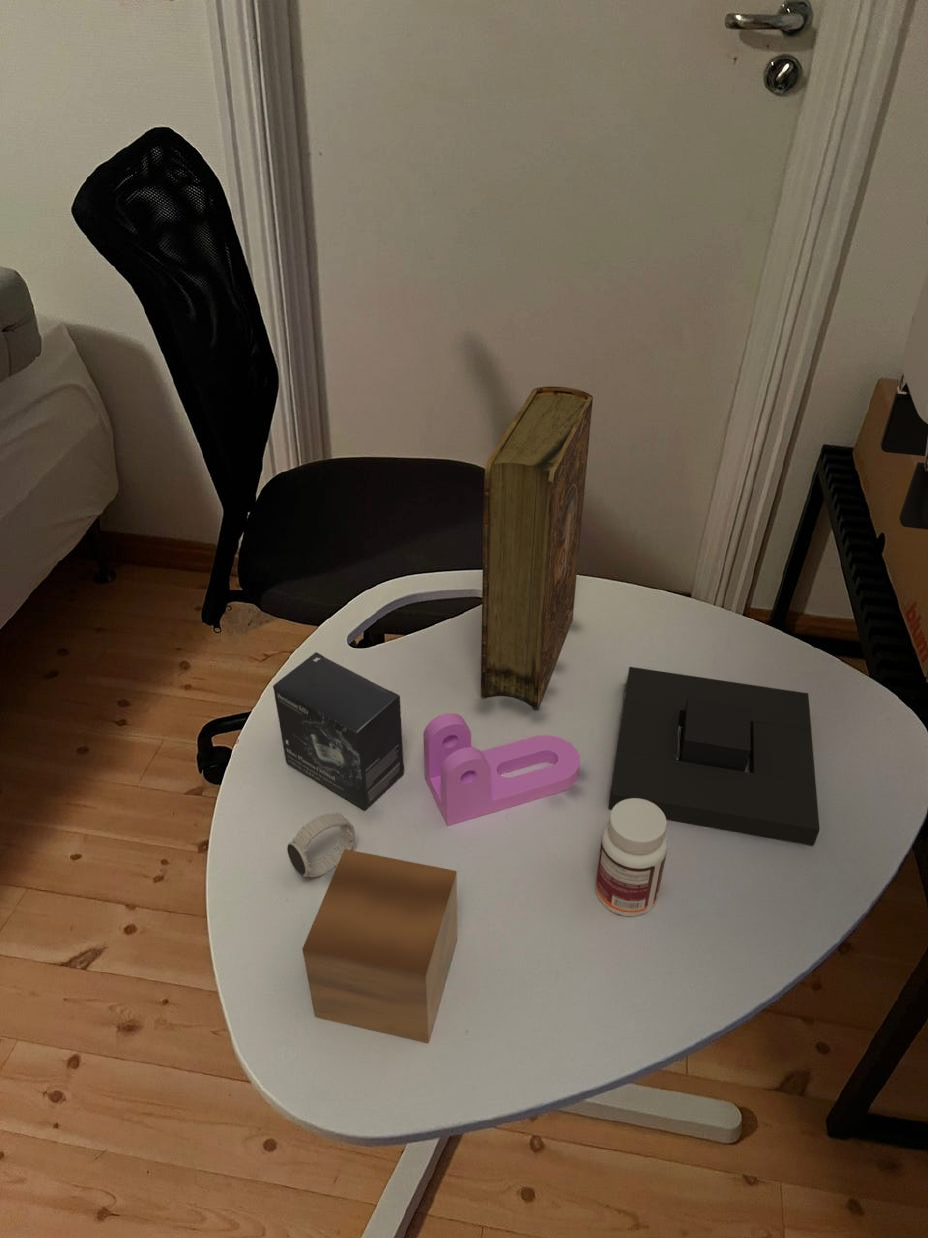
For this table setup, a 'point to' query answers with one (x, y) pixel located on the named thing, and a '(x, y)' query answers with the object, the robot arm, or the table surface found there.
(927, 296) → the robot arm
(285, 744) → the box
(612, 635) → the table surface
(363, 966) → the wooden block
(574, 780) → the bracket
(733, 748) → the pad
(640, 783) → the base pad
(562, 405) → the book
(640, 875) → the pill bottle
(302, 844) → the wristwatch
